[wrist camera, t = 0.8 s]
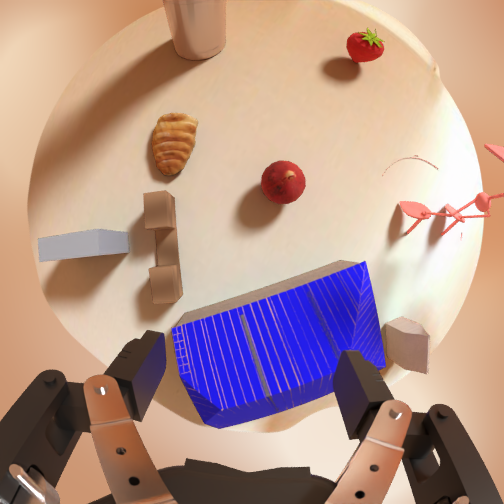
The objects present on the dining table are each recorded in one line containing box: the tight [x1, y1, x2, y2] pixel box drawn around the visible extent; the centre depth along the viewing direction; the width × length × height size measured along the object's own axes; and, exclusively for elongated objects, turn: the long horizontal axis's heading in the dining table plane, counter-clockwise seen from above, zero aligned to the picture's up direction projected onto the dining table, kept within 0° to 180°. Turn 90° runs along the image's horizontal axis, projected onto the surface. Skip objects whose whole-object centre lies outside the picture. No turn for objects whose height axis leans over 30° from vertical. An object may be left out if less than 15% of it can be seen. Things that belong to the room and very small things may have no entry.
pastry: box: [152, 113, 198, 176], centre depth 36 cm, size 9×7×4 cm
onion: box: [261, 161, 306, 204], centre depth 35 cm, size 6×6×8 cm
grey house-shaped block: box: [385, 317, 430, 374], centre depth 36 cm, size 4×7×10 cm, turn 12°
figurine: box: [382, 144, 504, 238], centre depth 23 cm, size 15×26×35 cm, turn 90°
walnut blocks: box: [143, 190, 183, 304], centre depth 35 cm, size 14×3×6 cm, turn 5°
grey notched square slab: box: [38, 229, 129, 262], centre depth 32 cm, size 10×3×10 cm, turn 95°
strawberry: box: [346, 28, 385, 63], centre depth 34 cm, size 6×8×10 cm
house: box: [171, 260, 386, 429], centre depth 32 cm, size 25×16×16 cm, turn 108°
